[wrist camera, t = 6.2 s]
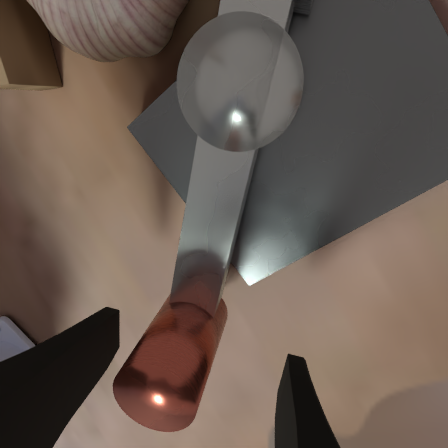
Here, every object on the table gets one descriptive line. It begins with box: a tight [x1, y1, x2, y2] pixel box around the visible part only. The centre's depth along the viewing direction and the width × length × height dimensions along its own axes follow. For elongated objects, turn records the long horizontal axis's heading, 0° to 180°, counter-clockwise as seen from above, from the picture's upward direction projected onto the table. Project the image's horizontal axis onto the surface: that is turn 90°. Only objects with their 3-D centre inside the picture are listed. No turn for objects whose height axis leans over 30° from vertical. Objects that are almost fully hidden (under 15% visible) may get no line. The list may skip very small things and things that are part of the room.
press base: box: [127, 0, 448, 286], centre depth 12 cm, size 11×9×2 cm
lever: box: [113, 0, 313, 432], centre depth 10 cm, size 16×4×6 cm, turn 168°
